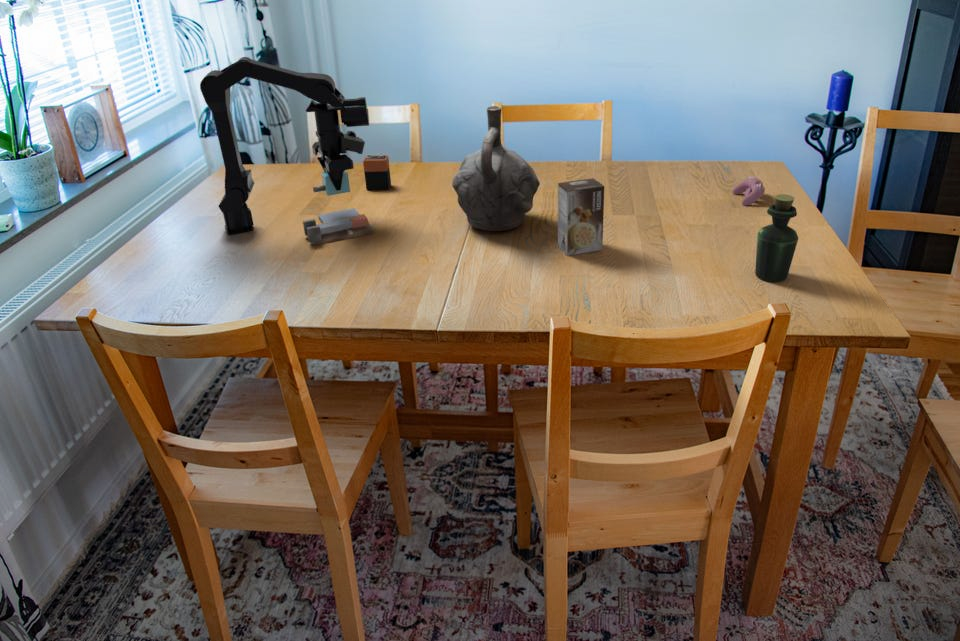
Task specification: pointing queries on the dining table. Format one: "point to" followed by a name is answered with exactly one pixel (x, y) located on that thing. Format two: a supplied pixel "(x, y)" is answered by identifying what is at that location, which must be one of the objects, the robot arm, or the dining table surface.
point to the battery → (377, 172)
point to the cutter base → (318, 238)
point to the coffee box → (580, 216)
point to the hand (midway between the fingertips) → (336, 187)
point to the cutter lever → (343, 224)
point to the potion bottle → (777, 241)
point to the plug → (329, 186)
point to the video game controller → (750, 190)
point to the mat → (337, 215)
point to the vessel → (495, 182)
